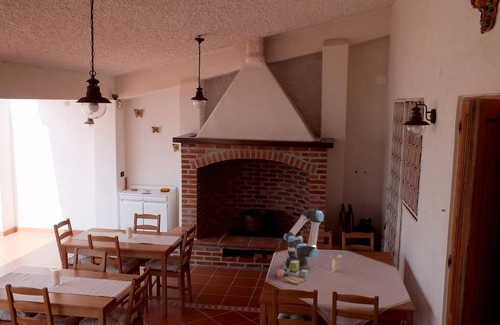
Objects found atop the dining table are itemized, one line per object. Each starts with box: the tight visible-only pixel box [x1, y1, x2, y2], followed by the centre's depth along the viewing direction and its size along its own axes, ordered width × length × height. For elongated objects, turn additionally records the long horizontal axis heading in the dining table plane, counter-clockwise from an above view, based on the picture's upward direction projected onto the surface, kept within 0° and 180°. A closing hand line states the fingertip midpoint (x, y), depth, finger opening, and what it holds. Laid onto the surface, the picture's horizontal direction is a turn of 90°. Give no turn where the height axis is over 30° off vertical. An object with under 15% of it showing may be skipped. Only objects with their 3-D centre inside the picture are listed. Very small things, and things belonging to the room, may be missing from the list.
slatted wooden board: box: [280, 275, 307, 286], centre depth 468 cm, size 16×20×2 cm
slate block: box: [300, 269, 309, 278], centre depth 481 cm, size 6×6×6 cm
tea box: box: [283, 258, 300, 277], centre depth 487 cm, size 15×10×15 cm, turn 62°
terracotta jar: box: [276, 268, 285, 280], centre depth 477 cm, size 7×7×8 cm
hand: (291, 270), depth 488 cm, fingers closed on tea box, 11 cm apart
